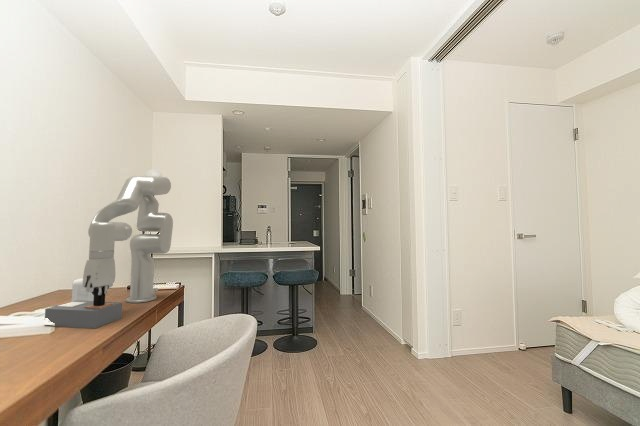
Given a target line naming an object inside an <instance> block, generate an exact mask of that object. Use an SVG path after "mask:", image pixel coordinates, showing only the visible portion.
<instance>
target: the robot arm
mask: <svg viewBox="0 0 640 426" xmlns="http://www.w3.org/2000/svg"><path fill="white" fill-rule="evenodd" d="M171 189H172V183H171V180H170V179H169V178H168V177H167V176H151V175H149V176H148V175H139V176H138V175H137V176H136V175H134V176H130V177H128V178H127V179H126V180H125V182H124V184H123V186H122V187H121V190H120V192H119V194H118V195H117V198H116V200H114V201H112V202H110V203H108V204H107V205H105V206H103V207H102V208H100V210H98V211H97V212H96V213H95V215H94V216H93V218H92V221H91V222H90V223H89V227H88V229H87V230H88V232H87V233H88V237H89V247H88V248H89V249H88V259H87V260H86V263H85V265H84V270H83V277H82V278H83V287H87V288H86V292H92V295H94V301H93V305H94V306H102V305H105V302H106V294H108V290H109V289H111V288H112V287H113V286H114V283H115V281H116V262H115V261H116V260H115V242H124V241H127V240H129V238H130V237H131V236H132V237H131V239H130V240H129V248H130V256H131V262H130V263H131V267H130V290H129V297H126V298H125V302H126V303H132V304H134V303H136V304H137V303H147V302H151V301H154V300H156V299H157V295H156V294H155V293H156V292H159V289H158V287H155V288H154V280H155V279H154V276H155V261H154V258H153V257H152V256H151V255H152V254H155V255H157V254H158V255H160V254H161V255H162V254H163V255H164V254H168V252H169V251H170V250H171V249H170V248H171V245H172V238H173V237H172V236H173V230H174V229H173V228H174V220H173V216H172V215H171V214H170V213H167V212H159V205H160V204H159V202H158V200H157V198H156V197H155V196H161V195H166V194H168V193H170V190H171ZM137 210H138V211H137ZM135 211H137V218H136V228H137V229H138V230H139V231H141V232H146V233H140V234H135V235H132V234H133V229H132V226H131V225H130V224H129V223H127V222H124V221H123V222H120V221H118V222H117V221H115V222H114V221H112V220H113V219H116V218H118V217H121V216H124V215H127V214H130V213H133V212H135ZM147 232H148V233H147ZM149 232H152V233H149ZM153 232H154V234H153ZM155 232H157V233H158V232H159V234H157V233H155Z"/></svg>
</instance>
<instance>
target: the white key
mask: <svg viewBox="0 0 640 426" xmlns="http://www.w3.org/2000/svg"><path fill="white" fill-rule="evenodd" d="M69 302H70V303H69ZM69 302H66V304H65V303H62V305H61V304H58V305H59V306H57V305H56V306H57V307H70V308H72V307H76V306H79V305H83V304H86V303H87V302H71V301H69Z"/></svg>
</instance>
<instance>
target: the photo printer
mask: <svg viewBox="0 0 640 426" xmlns="http://www.w3.org/2000/svg"><path fill="white" fill-rule="evenodd" d="M86 288H87V287H83V277H82V278H78V279H75V280H73V283H72V288H71V301H70V302H72V301H76V300H78V301H94V295H92V292H86Z"/></svg>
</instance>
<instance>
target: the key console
mask: <svg viewBox="0 0 640 426" xmlns="http://www.w3.org/2000/svg"><path fill="white" fill-rule="evenodd" d="M70 302H71V301H69V302H68V303H70ZM72 302H87V303H86V304H83V305H79V306H76V307H72V308H70V307H57V306H59V305H62V304H63V303H62V304H58V305H55V306H50V307H46V308H45V309H44V319H45V318H48V319H49V320H50V321H51V322H53V323H55V326H54V327H57V328H75V329H76V328H79V329H80V328H81V329H98V328H100V327H103V326H106V325H108V324H111V323H113V322H116V321H118V320H121V319H123V317H122V316H123V302H122V301H121V302H119V301H105V303H113V305H110V306H107V307H104V308H101V309H93V308H85V307H86V306H90V305H93V301H78V300H76V301H72ZM66 303H67V302H66ZM66 303H64V304H66Z"/></svg>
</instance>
